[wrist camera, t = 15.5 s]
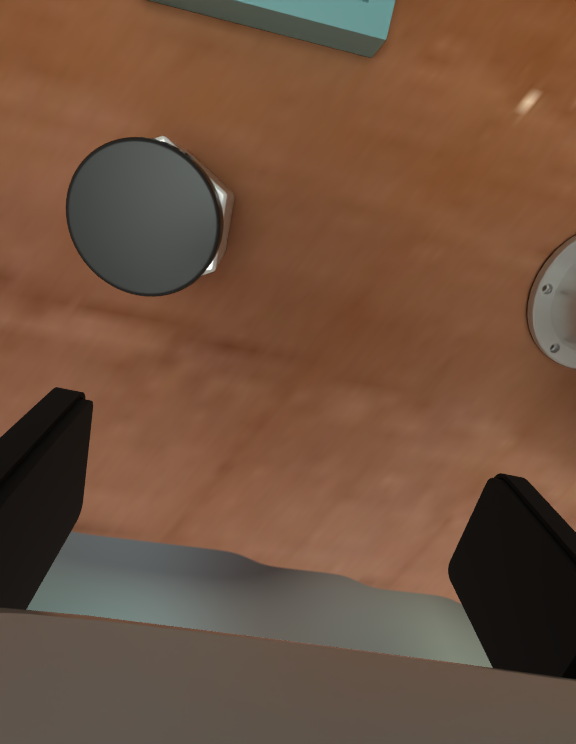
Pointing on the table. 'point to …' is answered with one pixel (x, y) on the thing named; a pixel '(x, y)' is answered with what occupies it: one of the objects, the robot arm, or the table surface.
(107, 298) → the table surface
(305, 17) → the candle dish
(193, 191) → the jar
